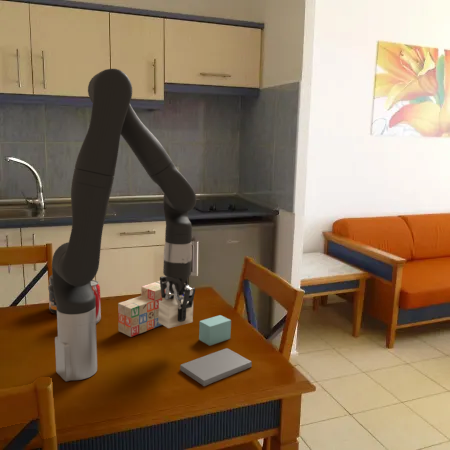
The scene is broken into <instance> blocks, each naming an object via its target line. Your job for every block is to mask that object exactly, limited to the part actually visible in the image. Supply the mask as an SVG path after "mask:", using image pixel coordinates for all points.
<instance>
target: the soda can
mask: <svg viewBox="0 0 450 450" xmlns="http://www.w3.org/2000/svg"><path fill="white" fill-rule="evenodd" d="M91 287H92V290H93V292H94V295H95V300H96V324H98V323H99V322H100V321H101V319H102V315H101V313H102V311H101V310H102V309H101V308H102V306H101V305H102V304H101V303H102V302H101V286H100V284H99V281H98V280H96V279H93V280H92V281H91Z"/></svg>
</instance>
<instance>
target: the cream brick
mask: <svg viewBox="0 0 450 450" xmlns="http://www.w3.org/2000/svg"><path fill="white" fill-rule="evenodd" d="M182 297H183V296H182ZM188 302H189V301H188ZM181 303H182V304H183V300H181ZM178 309H179V308H178V303H177V301H176V300H175V298H173V299H168V300H163V301H159V314H158V322H159V323H160V324H162V325H161V326H164V327H165V328H167V329H171V328H174V327H175V328H176V327H179V326H183V325H186V324H187V325H188V324H190V323H193V322H194V319H193V317H194V303H193V304H192V307H190V308H187V309H186V319H185V321H182V322H179V321H178Z"/></svg>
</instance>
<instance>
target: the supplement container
mask: <svg viewBox="0 0 450 450" xmlns="http://www.w3.org/2000/svg"><path fill="white" fill-rule="evenodd" d="M48 280H49V285H48V286H47V287H48V288H47V289H48V303H49V306H48V308H49V312H51V313H53V314H54V315H57V305H56V300H55V296H54V289H53V276H52V274H51V275H50V276H49V279H48Z"/></svg>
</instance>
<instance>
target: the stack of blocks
mask: <svg viewBox="0 0 450 450" xmlns="http://www.w3.org/2000/svg"><path fill="white" fill-rule="evenodd" d="M140 291H141V293H140V295H139V296H136V297H134V298H133V297H132V298H129V299H128V300H125V301H120V302H118V303H117V305H118V306H117V307H118V313H117V317H118V318H117V320H118V322H117V323H118V324H117V325H118V326H117V327H118V332H120V333H122V334H124V335H126V336H128V337H130V338H132V337H134V336H137V335H140V334H143V333H146V332H148V331H150V330H152V329H155V328H158V327H160V326H163V325H162V324H160V323H159V322H158V314H159V301H163V300H165V298H162V296H161V287H160V280H158V281H155V282H151V283H149V284H146V285H142V286H141V288H140ZM165 291H166V289H165ZM182 296H183V295H180V296H179V297H182Z"/></svg>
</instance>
